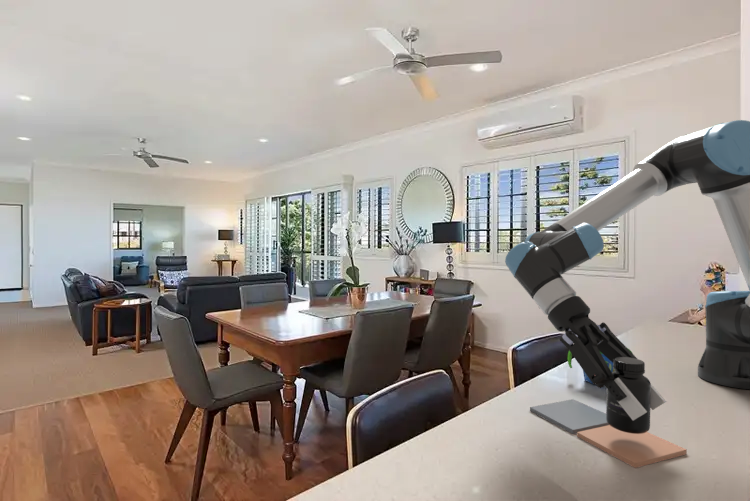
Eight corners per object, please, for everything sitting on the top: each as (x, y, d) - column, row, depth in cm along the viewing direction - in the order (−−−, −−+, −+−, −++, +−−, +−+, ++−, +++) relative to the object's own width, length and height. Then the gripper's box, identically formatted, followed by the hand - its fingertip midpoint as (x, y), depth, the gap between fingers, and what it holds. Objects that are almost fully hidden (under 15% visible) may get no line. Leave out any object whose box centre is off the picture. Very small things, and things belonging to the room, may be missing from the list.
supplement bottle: (608, 431, 75) (608, 363, 75) (604, 416, 81) (604, 353, 81) (654, 437, 72) (655, 367, 72) (646, 421, 79) (646, 356, 78)
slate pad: (573, 402, 97) (573, 399, 97) (619, 423, 85) (619, 419, 85) (530, 410, 93) (529, 407, 93) (573, 434, 81) (572, 429, 81)
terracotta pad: (624, 425, 84) (624, 421, 84) (686, 454, 73) (686, 449, 73) (577, 436, 80) (577, 432, 80) (635, 468, 69) (635, 463, 69)
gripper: (576, 311, 94) (657, 407, 82) (520, 322, 83) (605, 436, 70) (600, 290, 90) (690, 388, 77) (545, 298, 79) (640, 414, 66)
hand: (649, 410), depth 74 cm, fingers closed on supplement bottle, 7 cm apart
